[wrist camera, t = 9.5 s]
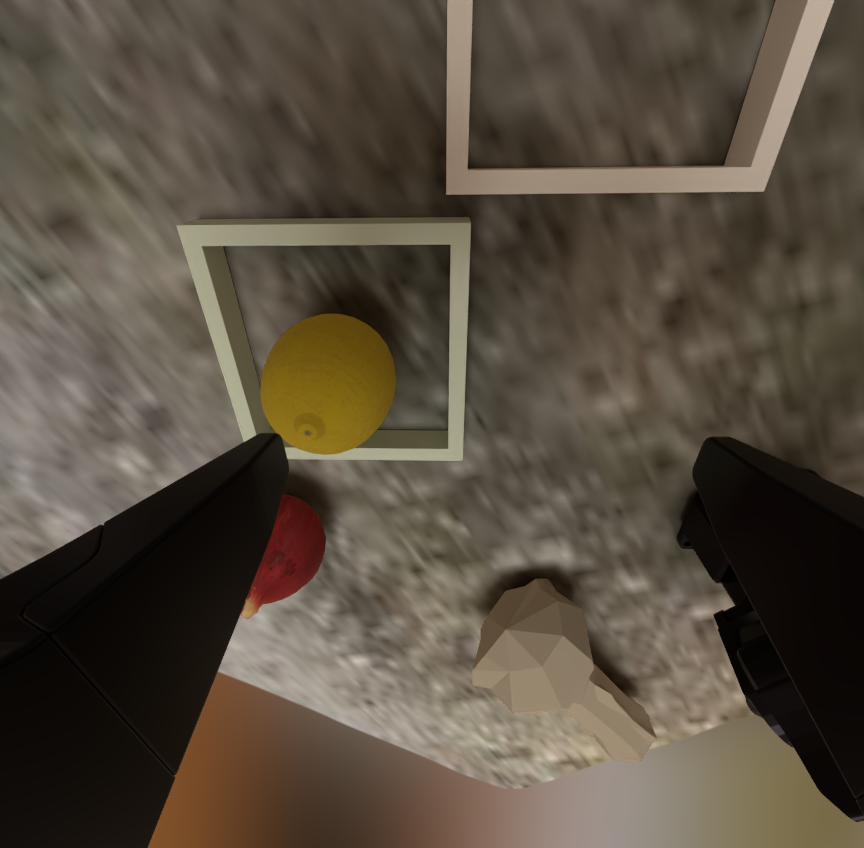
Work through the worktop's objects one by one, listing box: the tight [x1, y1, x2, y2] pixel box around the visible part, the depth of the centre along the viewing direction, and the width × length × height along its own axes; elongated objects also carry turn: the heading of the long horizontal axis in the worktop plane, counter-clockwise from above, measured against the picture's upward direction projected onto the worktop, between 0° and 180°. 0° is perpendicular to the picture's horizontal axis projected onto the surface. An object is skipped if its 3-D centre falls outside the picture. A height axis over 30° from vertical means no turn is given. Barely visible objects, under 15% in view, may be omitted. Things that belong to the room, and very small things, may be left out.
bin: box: [176, 217, 471, 461], centre depth 21 cm, size 12×12×2 cm
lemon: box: [260, 314, 396, 455], centre depth 18 cm, size 6×6×8 cm
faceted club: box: [472, 579, 657, 761], centre depth 34 cm, size 9×8×25 cm
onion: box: [241, 495, 326, 619], centre depth 25 cm, size 6×6×8 cm
